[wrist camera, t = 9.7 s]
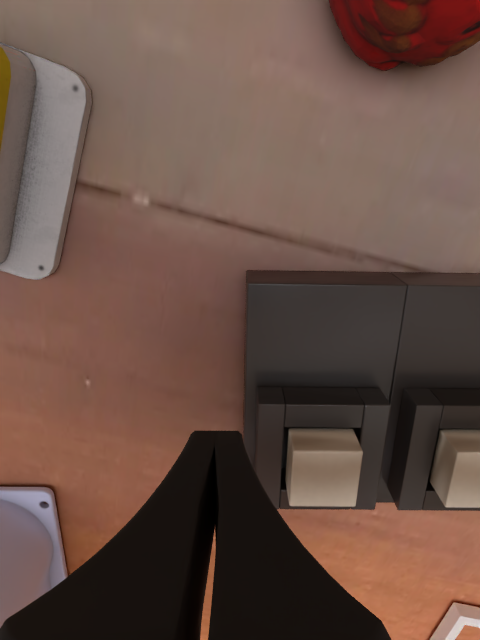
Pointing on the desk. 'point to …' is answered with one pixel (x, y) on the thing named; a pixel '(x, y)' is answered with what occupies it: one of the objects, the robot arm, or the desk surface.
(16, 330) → the desk surface
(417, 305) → the dark brown notched block
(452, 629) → the photo frame
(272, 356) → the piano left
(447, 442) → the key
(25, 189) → the emergency button
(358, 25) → the red clay folk toy
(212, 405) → the desk surface
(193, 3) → the desk surface
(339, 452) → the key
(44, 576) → the robot arm
